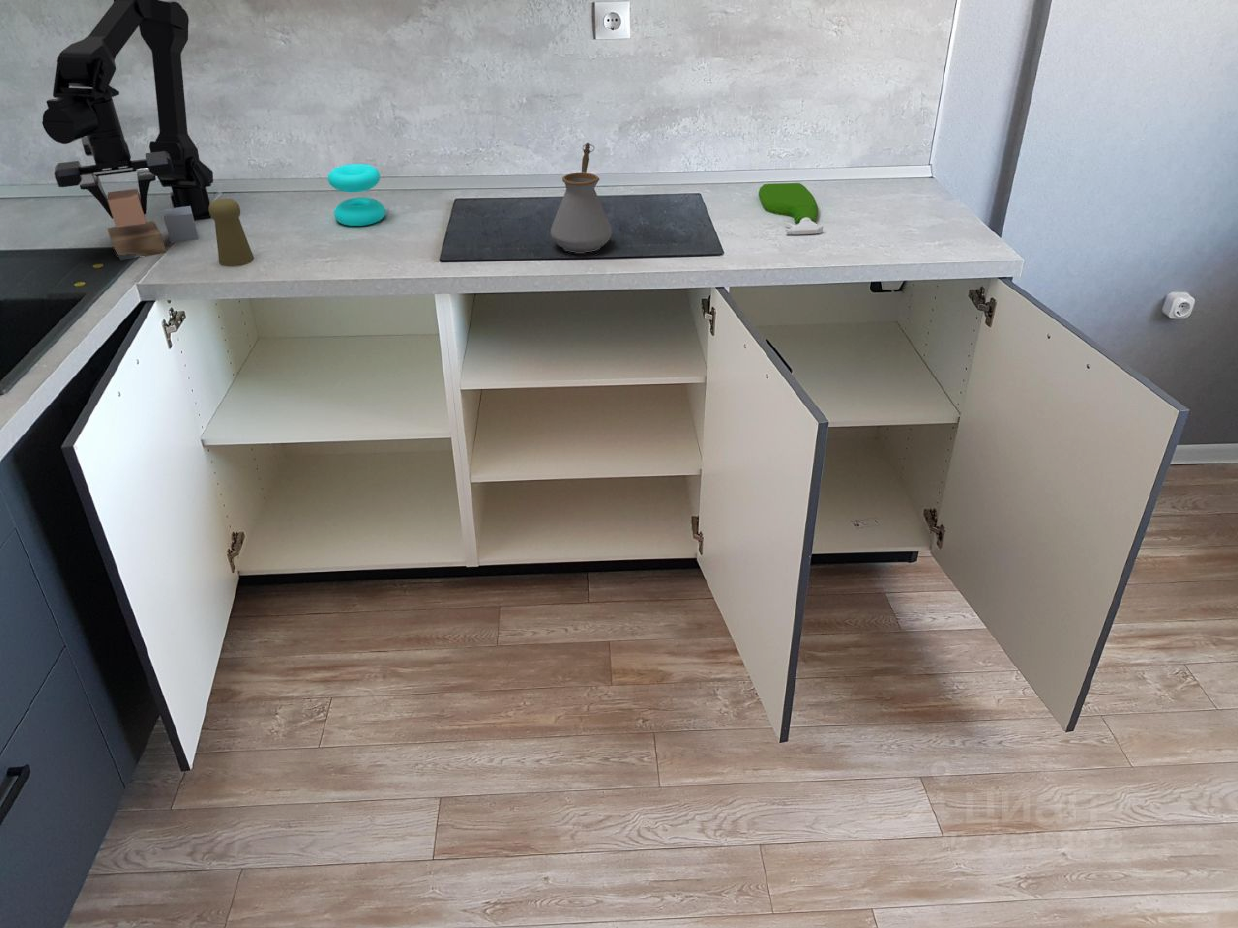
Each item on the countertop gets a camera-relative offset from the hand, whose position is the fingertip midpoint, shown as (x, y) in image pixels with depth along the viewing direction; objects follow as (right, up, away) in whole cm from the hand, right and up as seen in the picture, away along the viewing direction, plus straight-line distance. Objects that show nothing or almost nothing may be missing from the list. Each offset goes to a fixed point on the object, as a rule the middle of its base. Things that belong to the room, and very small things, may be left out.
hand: (129, 215), depth 173 cm
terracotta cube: (0, -1, +1) cm, 1 cm away
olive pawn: (+20, -8, -1) cm, 22 cm away
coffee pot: (+83, -2, +8) cm, 84 cm away
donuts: (+38, +3, +17) cm, 42 cm away
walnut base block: (0, -6, +4) cm, 7 cm away
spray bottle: (+125, +5, +18) cm, 126 cm away
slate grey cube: (+6, -2, +9) cm, 11 cm away
